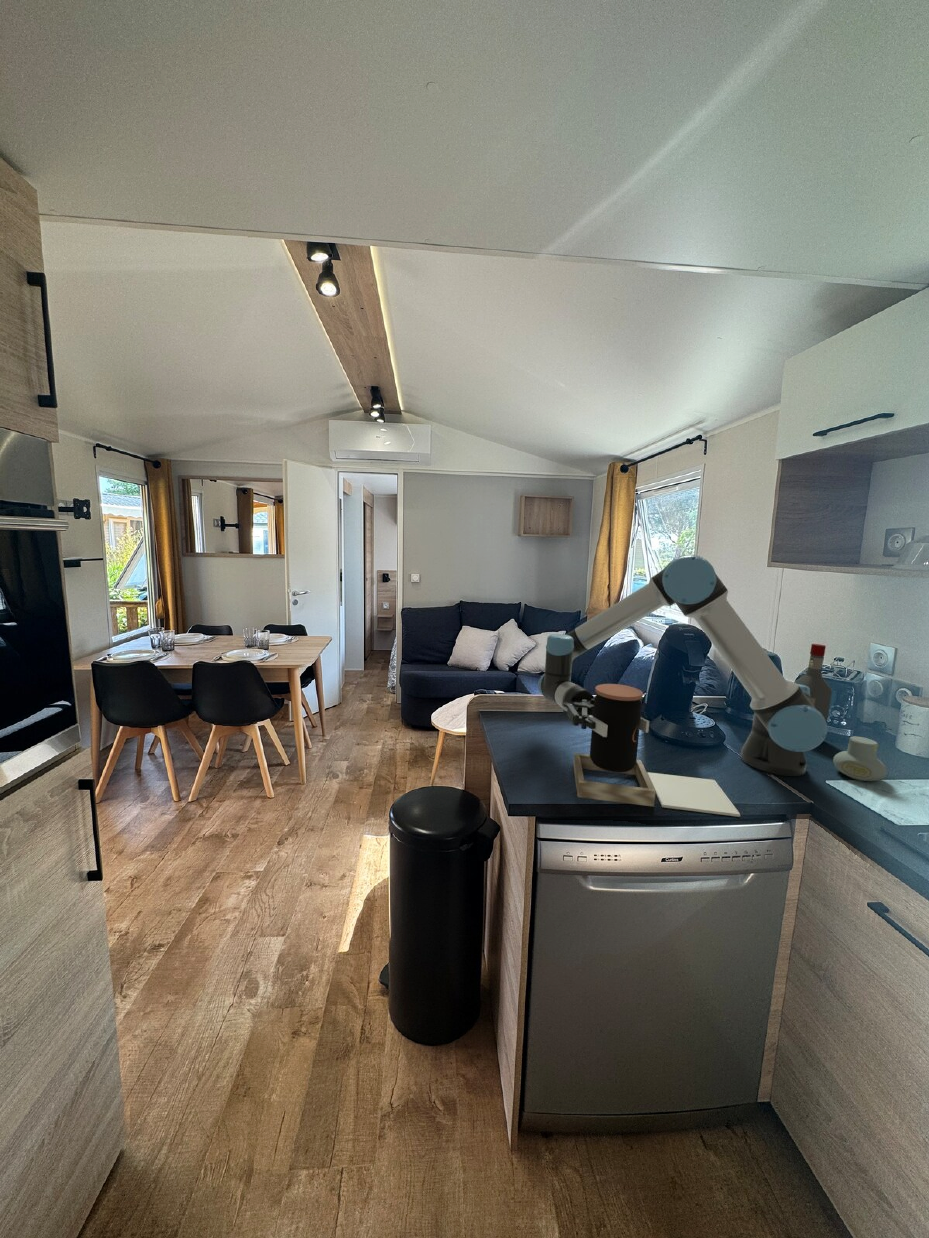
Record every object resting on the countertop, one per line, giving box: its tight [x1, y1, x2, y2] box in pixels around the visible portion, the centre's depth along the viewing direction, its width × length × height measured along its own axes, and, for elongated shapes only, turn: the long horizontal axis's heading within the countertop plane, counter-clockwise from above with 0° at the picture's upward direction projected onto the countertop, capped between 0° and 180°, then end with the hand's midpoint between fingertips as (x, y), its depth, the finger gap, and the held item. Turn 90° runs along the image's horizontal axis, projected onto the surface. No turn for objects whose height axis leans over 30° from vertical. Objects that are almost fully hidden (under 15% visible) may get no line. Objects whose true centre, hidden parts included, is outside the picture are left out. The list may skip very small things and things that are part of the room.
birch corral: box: [572, 752, 656, 807], centre depth 116 cm, size 16×16×4 cm
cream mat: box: [646, 771, 741, 818], centre depth 114 cm, size 16×16×1 cm
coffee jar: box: [589, 683, 644, 773], centre depth 115 cm, size 11×11×18 cm
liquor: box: [793, 643, 833, 725], centre depth 153 cm, size 9×9×30 cm
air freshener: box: [832, 735, 888, 782], centre depth 128 cm, size 11×8×10 cm
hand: (627, 728), depth 111 cm, fingers closed on coffee jar, 11 cm apart
